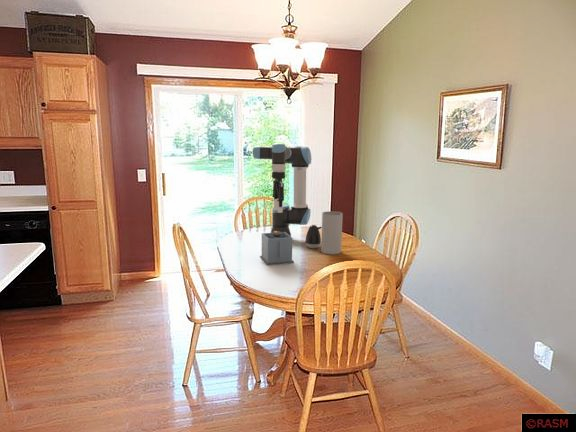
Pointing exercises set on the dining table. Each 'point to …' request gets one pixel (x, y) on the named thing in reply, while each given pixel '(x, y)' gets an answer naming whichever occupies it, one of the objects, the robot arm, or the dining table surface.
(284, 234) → the grey open bin
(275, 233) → the plunger
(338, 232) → the cylinder vase
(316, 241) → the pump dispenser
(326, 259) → the dining table surface
